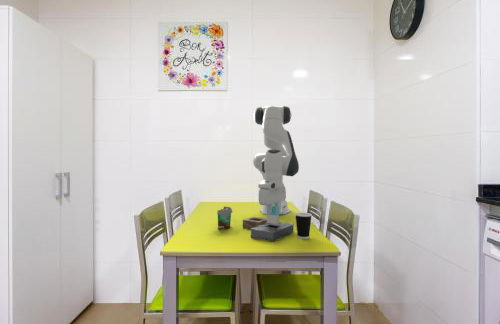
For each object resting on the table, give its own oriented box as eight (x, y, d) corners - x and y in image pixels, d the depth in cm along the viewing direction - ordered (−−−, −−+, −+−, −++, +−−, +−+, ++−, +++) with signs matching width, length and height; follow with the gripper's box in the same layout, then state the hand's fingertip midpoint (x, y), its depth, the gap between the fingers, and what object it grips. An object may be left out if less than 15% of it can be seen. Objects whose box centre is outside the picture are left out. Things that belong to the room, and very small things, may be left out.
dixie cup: (292, 235, 147) (292, 212, 147) (307, 234, 149) (307, 212, 149) (298, 240, 139) (299, 216, 139) (314, 239, 141) (315, 215, 141)
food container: (228, 230, 156) (228, 211, 155) (217, 230, 157) (217, 210, 157) (234, 225, 168) (235, 206, 167) (224, 224, 169) (224, 206, 169)
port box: (272, 228, 160) (272, 220, 160) (293, 232, 154) (293, 223, 154) (250, 237, 144) (250, 227, 144) (273, 241, 137) (273, 231, 137)
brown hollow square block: (253, 223, 171) (253, 216, 171) (268, 226, 165) (268, 219, 165) (242, 227, 163) (242, 219, 162) (258, 230, 157) (258, 222, 157)
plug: (270, 221, 151) (270, 205, 151) (279, 222, 148) (279, 206, 148) (266, 222, 149) (267, 206, 148) (275, 224, 146) (276, 207, 146)
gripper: (278, 181, 158) (277, 208, 159) (256, 184, 141) (256, 214, 142) (289, 182, 155) (288, 209, 155) (268, 185, 138) (267, 216, 138)
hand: (273, 212), depth 148 cm, fingers closed on plug, 3 cm apart
